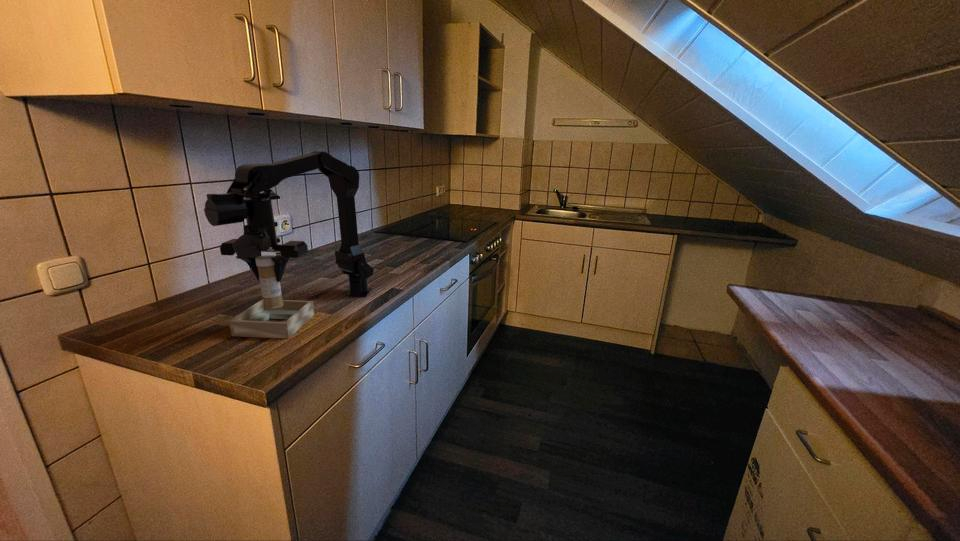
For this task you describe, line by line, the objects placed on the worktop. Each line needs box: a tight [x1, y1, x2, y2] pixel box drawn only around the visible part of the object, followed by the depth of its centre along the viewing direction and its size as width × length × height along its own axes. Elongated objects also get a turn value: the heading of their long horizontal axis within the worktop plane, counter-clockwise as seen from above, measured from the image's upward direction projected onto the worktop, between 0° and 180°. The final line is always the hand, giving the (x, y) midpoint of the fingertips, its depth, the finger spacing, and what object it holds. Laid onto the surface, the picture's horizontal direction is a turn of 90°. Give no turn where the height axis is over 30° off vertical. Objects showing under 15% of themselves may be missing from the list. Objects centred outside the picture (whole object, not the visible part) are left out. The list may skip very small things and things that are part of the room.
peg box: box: [228, 298, 315, 339], centre depth 97 cm, size 14×14×4 cm
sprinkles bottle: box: [255, 254, 284, 310], centre depth 94 cm, size 5×5×13 cm
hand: (269, 281), depth 94 cm, fingers closed on sprinkles bottle, 4 cm apart
